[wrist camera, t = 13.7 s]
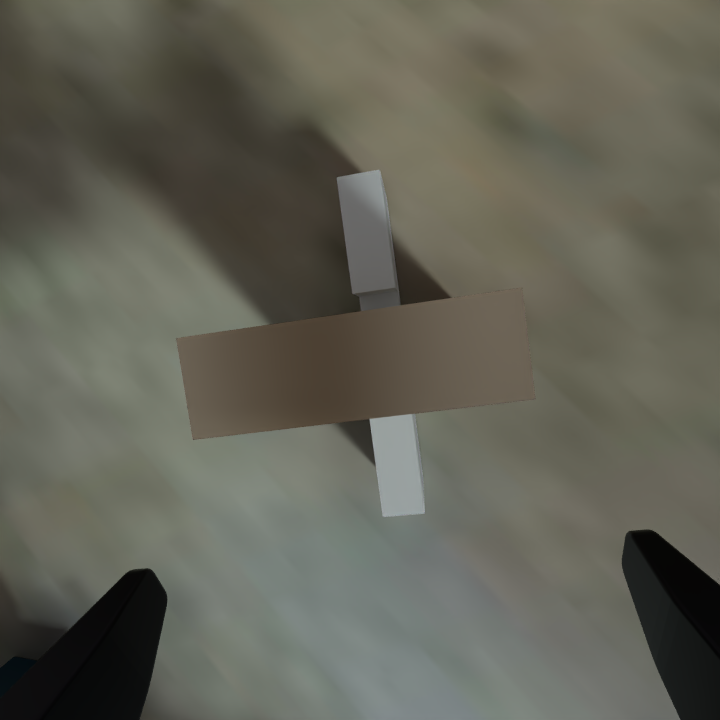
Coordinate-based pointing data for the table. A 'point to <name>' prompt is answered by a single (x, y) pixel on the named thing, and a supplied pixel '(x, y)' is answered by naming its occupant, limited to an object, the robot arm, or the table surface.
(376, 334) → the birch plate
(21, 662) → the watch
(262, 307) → the table surface
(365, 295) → the slotted rail
